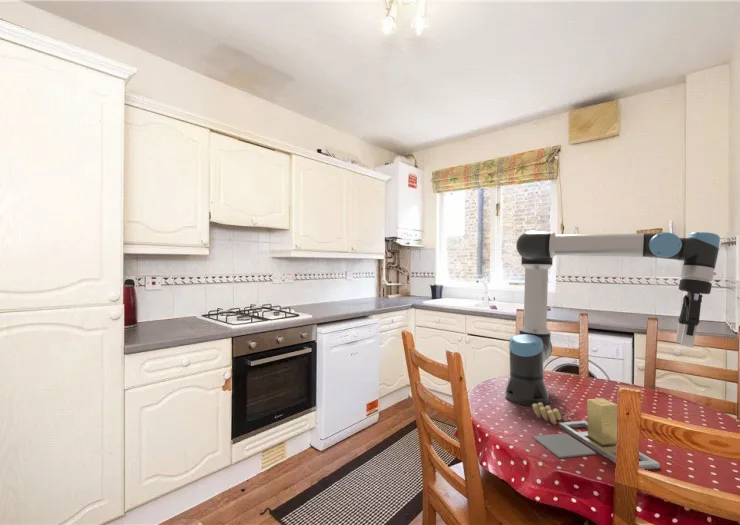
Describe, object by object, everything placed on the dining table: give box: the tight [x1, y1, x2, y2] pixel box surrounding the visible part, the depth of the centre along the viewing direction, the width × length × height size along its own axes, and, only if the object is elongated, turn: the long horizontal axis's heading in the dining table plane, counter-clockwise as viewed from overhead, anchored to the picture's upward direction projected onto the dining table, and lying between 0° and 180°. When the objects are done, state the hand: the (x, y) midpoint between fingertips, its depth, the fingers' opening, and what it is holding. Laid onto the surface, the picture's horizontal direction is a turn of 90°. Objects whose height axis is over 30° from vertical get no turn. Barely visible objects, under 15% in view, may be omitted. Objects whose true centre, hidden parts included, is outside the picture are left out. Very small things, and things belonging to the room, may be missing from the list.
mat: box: [532, 432, 597, 459], centre depth 95 cm, size 11×11×1 cm
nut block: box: [586, 397, 618, 448], centre depth 95 cm, size 5×5×12 cm
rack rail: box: [557, 420, 660, 470], centre depth 95 cm, size 24×9×1 cm, turn 9°
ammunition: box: [531, 402, 568, 425], centre depth 111 cm, size 5×7×8 cm
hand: (683, 344), depth 110 cm, fingers open, 13 cm apart
